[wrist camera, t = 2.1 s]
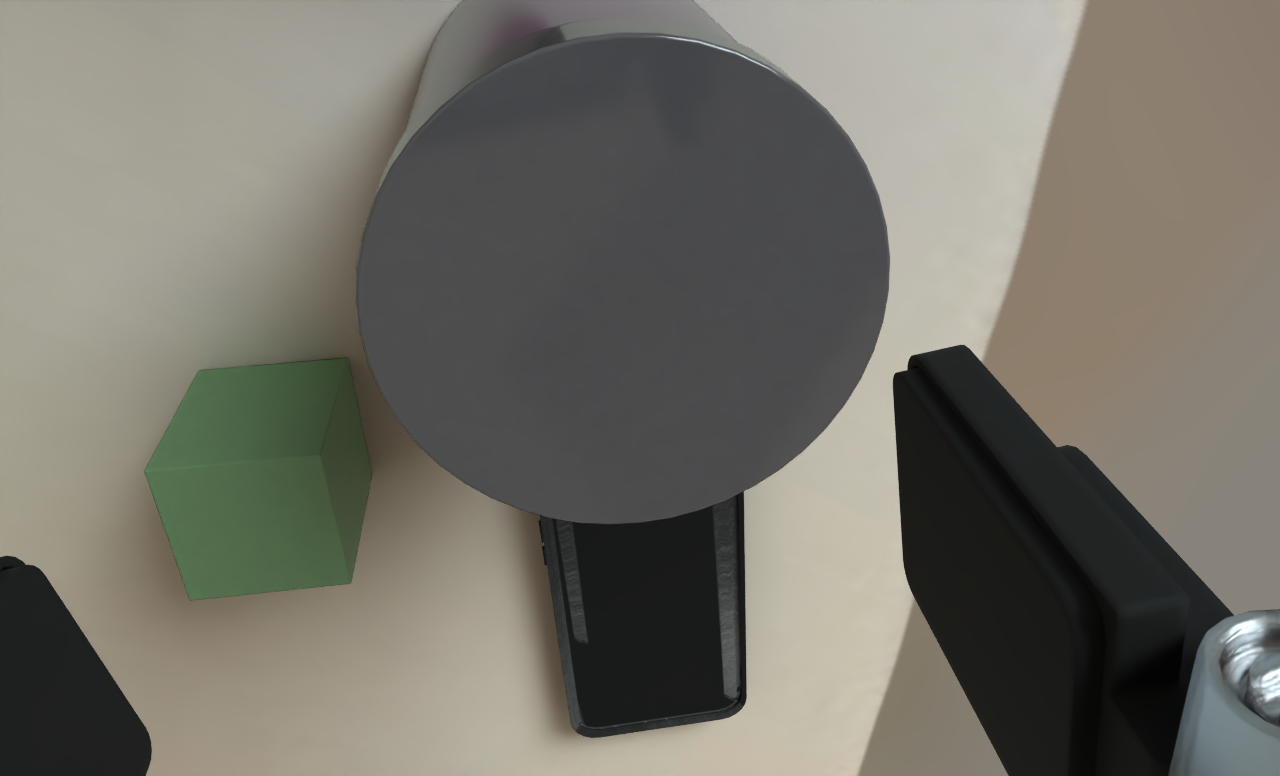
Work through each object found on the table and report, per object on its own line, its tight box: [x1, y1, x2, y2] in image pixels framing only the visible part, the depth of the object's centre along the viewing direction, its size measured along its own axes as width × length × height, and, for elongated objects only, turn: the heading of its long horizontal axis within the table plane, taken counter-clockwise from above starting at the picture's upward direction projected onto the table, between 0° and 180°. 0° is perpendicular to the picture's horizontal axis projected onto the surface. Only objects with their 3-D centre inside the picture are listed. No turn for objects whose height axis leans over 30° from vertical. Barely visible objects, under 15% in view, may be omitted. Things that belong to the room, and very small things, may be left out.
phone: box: [539, 491, 747, 738], centre depth 40 cm, size 8×1×15 cm
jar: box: [356, 0, 890, 524], centre depth 25 cm, size 10×10×14 cm
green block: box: [144, 358, 372, 600], centre depth 32 cm, size 5×5×6 cm
